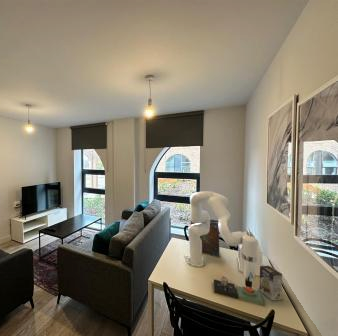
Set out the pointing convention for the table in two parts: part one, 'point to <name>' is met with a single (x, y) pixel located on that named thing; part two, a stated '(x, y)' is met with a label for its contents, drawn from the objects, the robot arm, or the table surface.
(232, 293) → the control panel
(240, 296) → the button housing
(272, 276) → the coffee box
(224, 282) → the dial
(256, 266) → the gable box
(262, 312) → the table surface
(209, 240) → the decorative book
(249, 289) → the button
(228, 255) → the table surface
